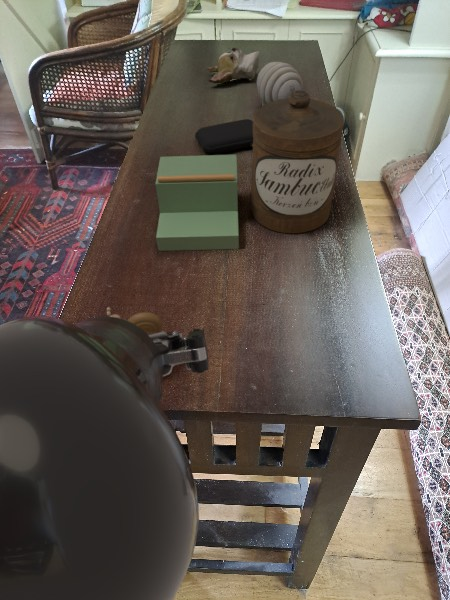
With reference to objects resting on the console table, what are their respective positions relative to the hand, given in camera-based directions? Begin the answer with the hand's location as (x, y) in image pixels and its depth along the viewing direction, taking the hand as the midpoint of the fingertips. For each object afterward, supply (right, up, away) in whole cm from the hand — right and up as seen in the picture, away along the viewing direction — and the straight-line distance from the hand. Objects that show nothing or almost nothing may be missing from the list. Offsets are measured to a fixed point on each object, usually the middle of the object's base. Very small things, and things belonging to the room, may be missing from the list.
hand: (126, 349), depth 42 cm
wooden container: (+21, +22, +45) cm, 54 cm away
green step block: (+4, +18, +42) cm, 46 cm away
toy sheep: (+22, +52, +73) cm, 93 cm away
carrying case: (+10, +40, +63) cm, 75 cm away
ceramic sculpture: (+11, +67, +87) cm, 110 cm away
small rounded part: (-2, -4, +21) cm, 22 cm away
